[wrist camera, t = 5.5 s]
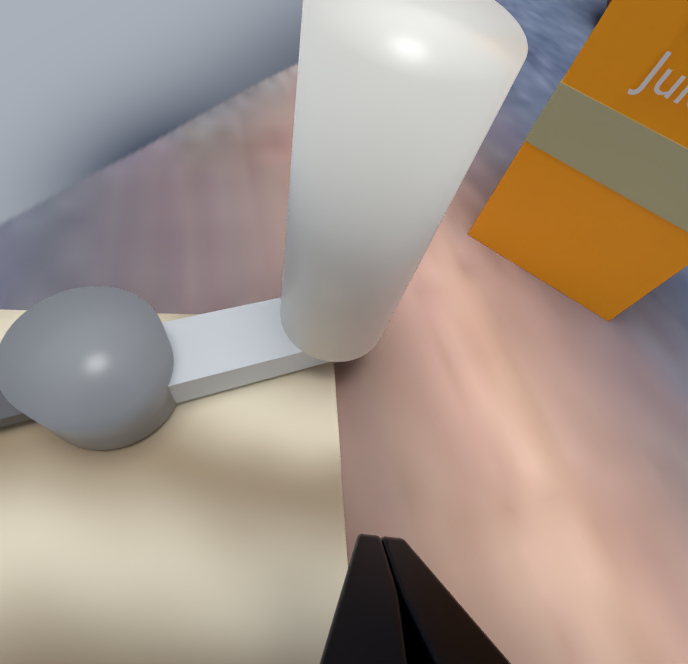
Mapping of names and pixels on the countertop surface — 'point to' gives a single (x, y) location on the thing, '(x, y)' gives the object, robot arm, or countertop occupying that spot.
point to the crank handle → (293, 227)
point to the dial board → (178, 533)
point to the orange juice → (605, 166)
